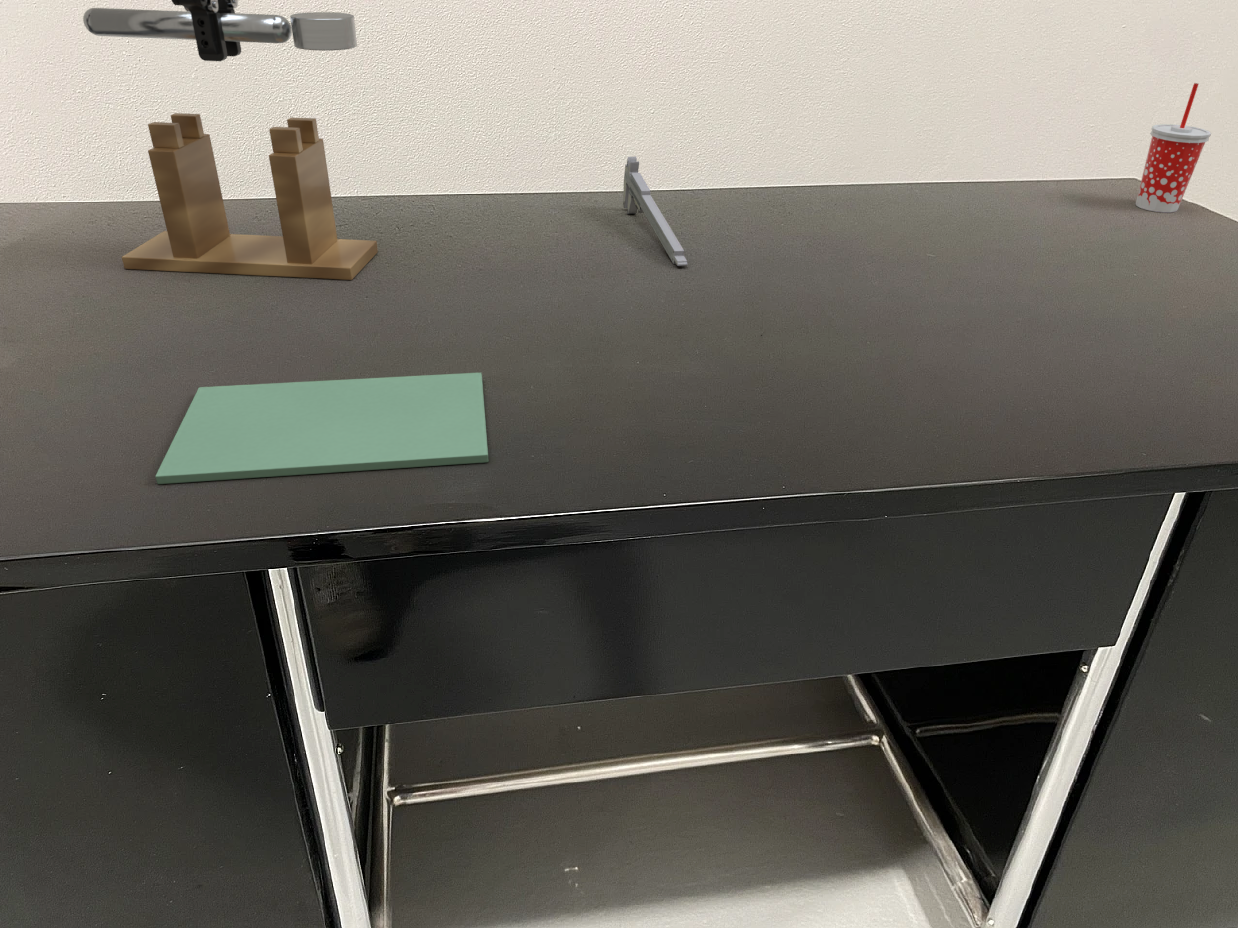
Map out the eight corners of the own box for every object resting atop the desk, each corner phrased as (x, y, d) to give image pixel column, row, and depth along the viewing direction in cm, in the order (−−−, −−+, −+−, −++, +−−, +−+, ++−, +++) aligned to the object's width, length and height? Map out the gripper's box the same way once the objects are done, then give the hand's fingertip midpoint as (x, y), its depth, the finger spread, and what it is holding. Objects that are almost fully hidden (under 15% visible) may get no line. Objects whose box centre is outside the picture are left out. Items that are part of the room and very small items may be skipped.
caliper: (622, 209, 107) (623, 153, 104) (631, 209, 108) (632, 153, 104) (677, 269, 91) (680, 204, 87) (688, 268, 91) (691, 204, 88)
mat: (157, 484, 57) (154, 476, 56) (200, 394, 67) (198, 387, 66) (488, 462, 59) (488, 454, 59) (482, 379, 69) (481, 372, 69)
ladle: (71, 40, 79) (63, 9, 78) (105, 33, 83) (98, 3, 82) (345, 52, 77) (341, 20, 76) (365, 43, 82) (362, 13, 81)
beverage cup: (1182, 217, 109) (1225, 90, 101) (1125, 208, 112) (1163, 84, 104) (1186, 205, 113) (1228, 82, 106) (1131, 197, 116) (1168, 77, 109)
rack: (124, 269, 88) (85, 125, 81) (166, 242, 95) (133, 108, 88) (352, 280, 86) (331, 135, 80) (378, 252, 93) (361, 116, 86)
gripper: (174, -179, 78) (215, 45, 87) (78, -193, 66) (137, 69, 75) (261, -177, 78) (293, 48, 87) (180, -190, 66) (227, 72, 75)
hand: (221, 57), depth 81 cm, fingers closed on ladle, 2 cm apart
